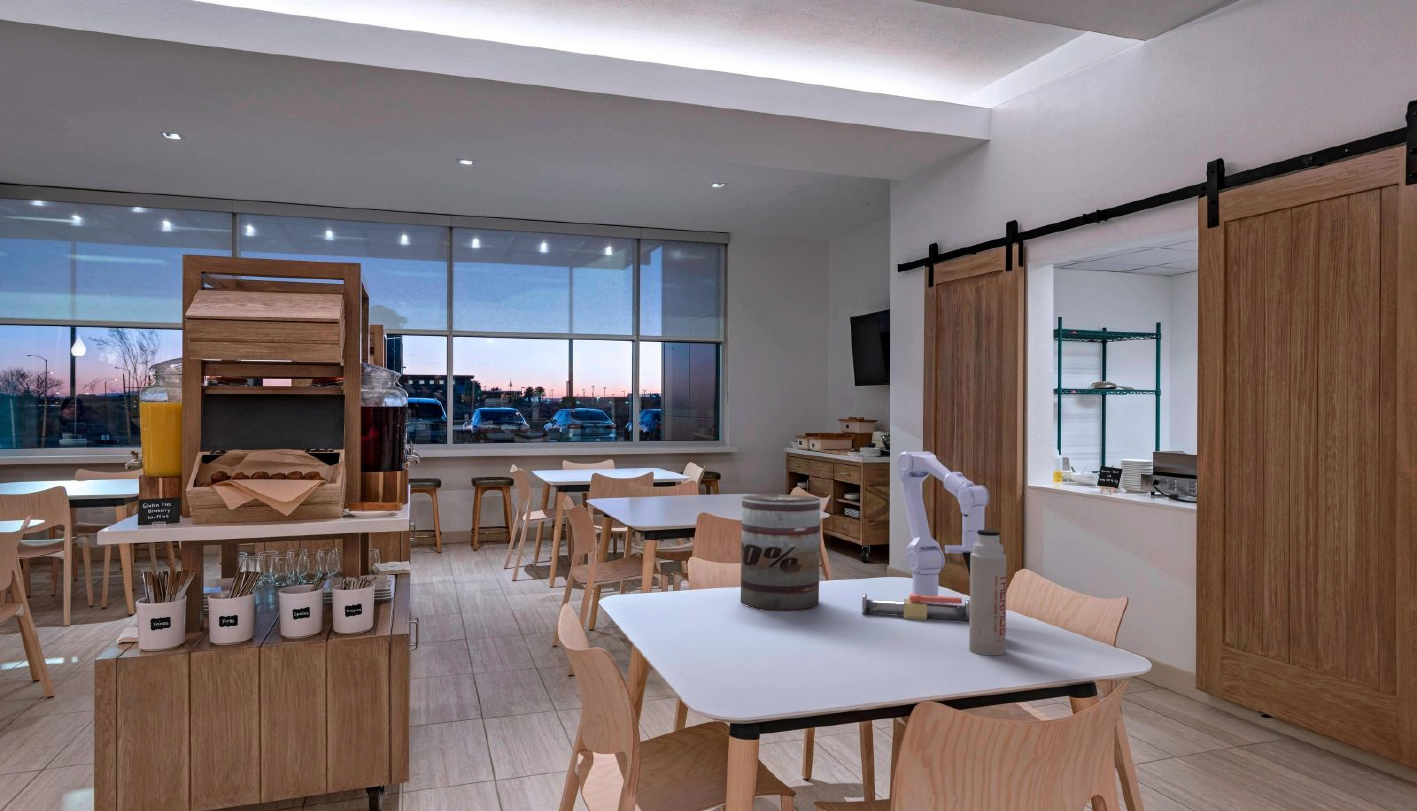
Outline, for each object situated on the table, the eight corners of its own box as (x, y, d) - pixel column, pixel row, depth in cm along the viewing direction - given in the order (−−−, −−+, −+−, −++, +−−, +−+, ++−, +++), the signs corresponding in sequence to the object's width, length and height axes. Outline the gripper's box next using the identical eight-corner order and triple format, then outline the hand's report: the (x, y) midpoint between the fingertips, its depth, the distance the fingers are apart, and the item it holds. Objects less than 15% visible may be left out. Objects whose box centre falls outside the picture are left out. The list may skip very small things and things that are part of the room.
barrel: (724, 599, 250) (726, 496, 251) (782, 590, 264) (783, 493, 264) (776, 615, 232) (777, 504, 233) (835, 604, 246) (836, 499, 246)
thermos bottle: (1012, 653, 198) (1014, 531, 198) (987, 657, 195) (988, 533, 195) (987, 644, 205) (988, 527, 206) (961, 648, 202) (963, 529, 202)
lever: (909, 601, 232) (909, 595, 232) (909, 598, 235) (909, 593, 235) (961, 604, 229) (961, 598, 229) (961, 601, 232) (961, 596, 232)
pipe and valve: (863, 610, 239) (863, 591, 239) (968, 617, 233) (968, 598, 233) (862, 615, 233) (862, 596, 233) (969, 622, 227) (970, 602, 227)
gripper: (946, 531, 230) (945, 582, 230) (1002, 533, 227) (1002, 585, 227) (944, 528, 237) (944, 577, 237) (1000, 530, 234) (999, 580, 234)
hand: (972, 581), depth 232 cm, fingers closed
